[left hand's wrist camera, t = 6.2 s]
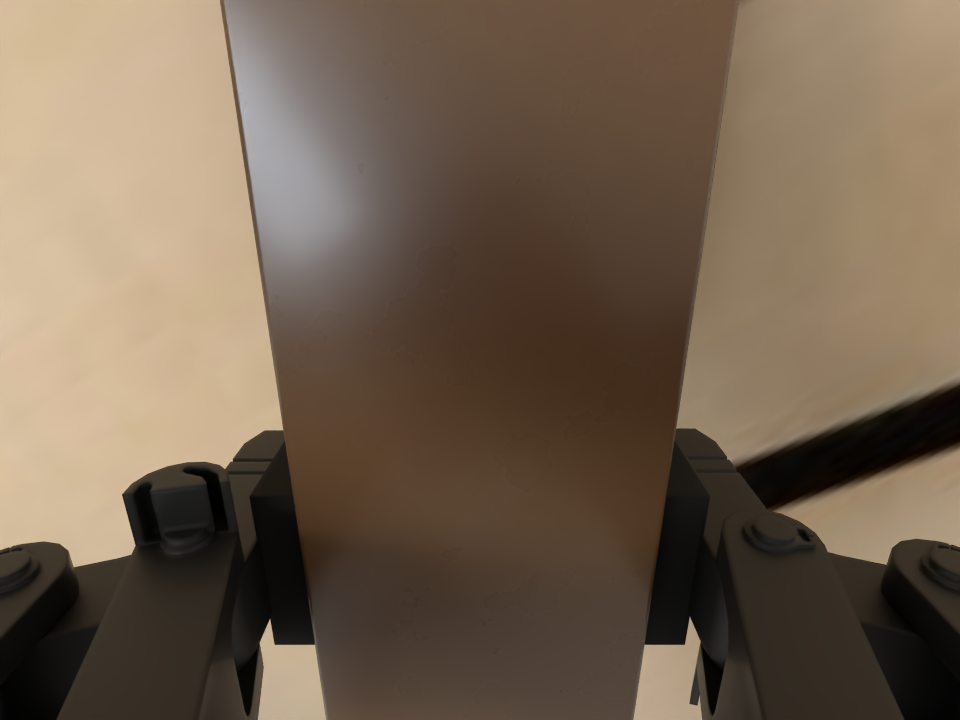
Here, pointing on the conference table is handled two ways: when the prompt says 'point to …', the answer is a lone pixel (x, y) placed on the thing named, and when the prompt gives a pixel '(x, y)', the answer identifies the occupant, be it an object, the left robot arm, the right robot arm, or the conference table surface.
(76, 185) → the conference table surface
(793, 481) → the conference table surface
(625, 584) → the post
